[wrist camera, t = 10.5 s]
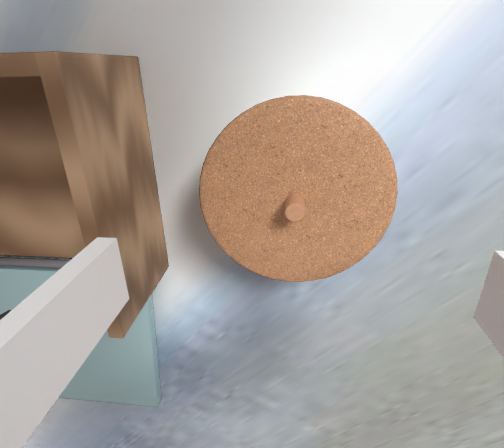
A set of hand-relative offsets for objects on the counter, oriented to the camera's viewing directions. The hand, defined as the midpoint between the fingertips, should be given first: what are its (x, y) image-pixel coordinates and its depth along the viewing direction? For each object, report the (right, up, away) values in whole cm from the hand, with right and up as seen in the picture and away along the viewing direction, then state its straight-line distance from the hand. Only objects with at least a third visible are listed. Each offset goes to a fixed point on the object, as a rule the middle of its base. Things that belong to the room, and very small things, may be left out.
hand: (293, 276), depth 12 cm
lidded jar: (+2, +6, +13) cm, 15 cm away
